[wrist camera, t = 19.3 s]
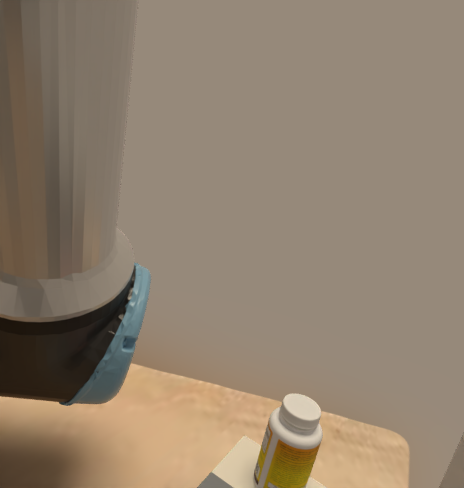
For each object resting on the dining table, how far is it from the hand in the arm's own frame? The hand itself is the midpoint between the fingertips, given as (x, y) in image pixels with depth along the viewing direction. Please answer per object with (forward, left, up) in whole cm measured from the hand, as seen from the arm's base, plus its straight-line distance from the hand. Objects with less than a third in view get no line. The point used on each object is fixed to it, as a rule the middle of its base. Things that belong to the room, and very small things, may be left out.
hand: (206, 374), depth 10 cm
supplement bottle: (-13, +23, -27) cm, 37 cm away
